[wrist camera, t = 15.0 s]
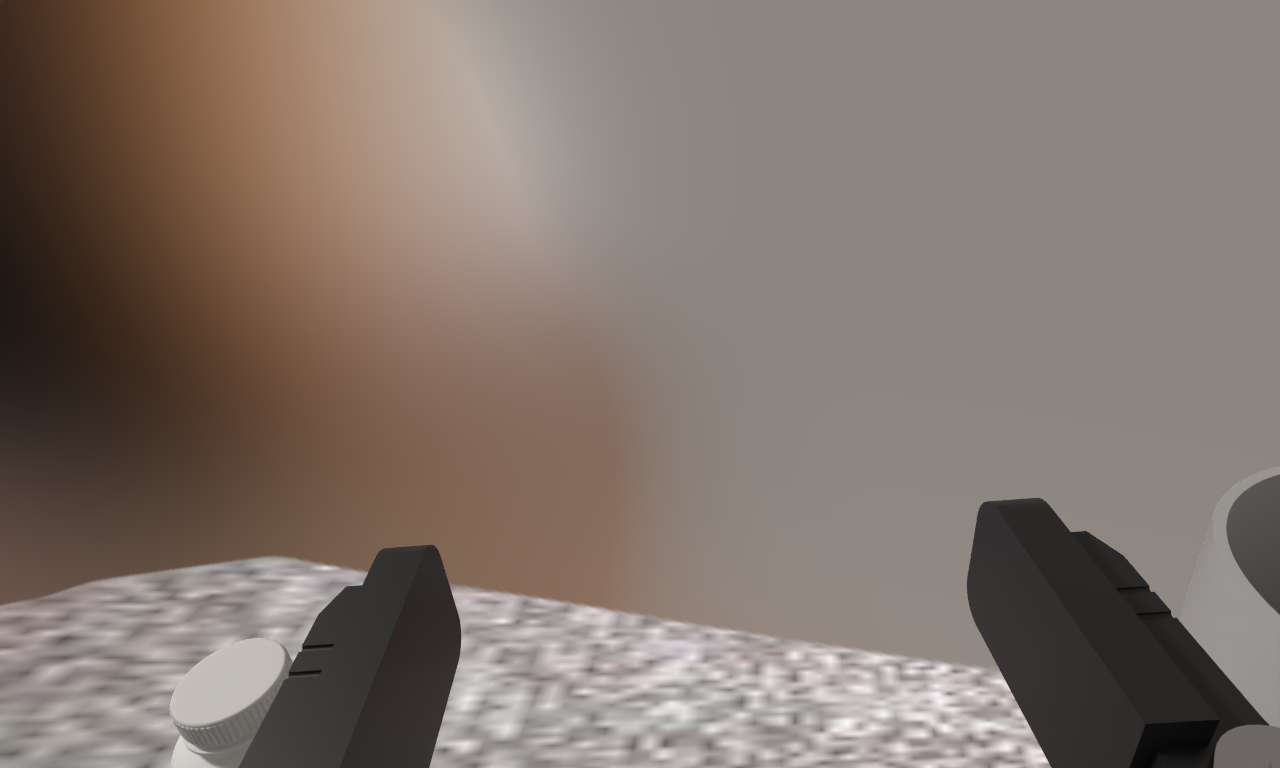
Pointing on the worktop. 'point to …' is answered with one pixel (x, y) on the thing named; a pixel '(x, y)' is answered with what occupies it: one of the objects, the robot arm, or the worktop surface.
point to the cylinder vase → (1242, 591)
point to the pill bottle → (226, 702)
